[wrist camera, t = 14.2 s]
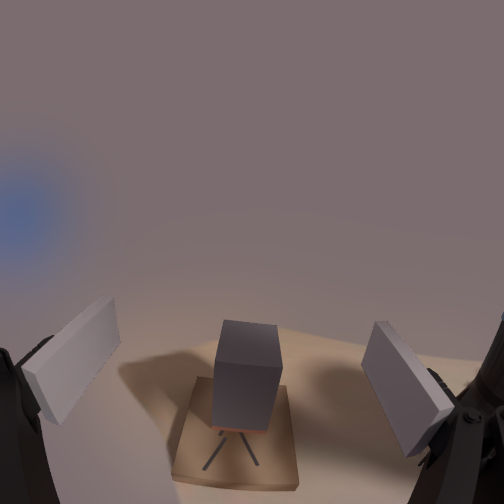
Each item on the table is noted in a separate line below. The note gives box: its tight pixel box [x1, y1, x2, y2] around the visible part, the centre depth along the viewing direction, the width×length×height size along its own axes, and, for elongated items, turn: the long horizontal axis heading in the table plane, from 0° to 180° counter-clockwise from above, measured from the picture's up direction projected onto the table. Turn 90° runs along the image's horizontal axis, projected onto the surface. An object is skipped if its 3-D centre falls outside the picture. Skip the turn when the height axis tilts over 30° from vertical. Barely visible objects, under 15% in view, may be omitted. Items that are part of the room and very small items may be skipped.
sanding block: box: [211, 320, 283, 434], centre depth 28 cm, size 6×8×10 cm
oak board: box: [171, 376, 299, 491], centre depth 26 cm, size 12×16×2 cm
